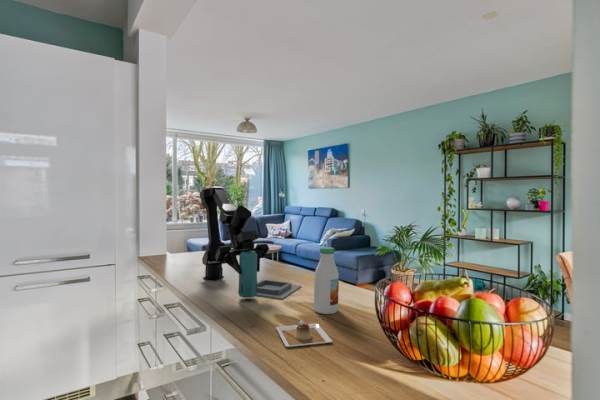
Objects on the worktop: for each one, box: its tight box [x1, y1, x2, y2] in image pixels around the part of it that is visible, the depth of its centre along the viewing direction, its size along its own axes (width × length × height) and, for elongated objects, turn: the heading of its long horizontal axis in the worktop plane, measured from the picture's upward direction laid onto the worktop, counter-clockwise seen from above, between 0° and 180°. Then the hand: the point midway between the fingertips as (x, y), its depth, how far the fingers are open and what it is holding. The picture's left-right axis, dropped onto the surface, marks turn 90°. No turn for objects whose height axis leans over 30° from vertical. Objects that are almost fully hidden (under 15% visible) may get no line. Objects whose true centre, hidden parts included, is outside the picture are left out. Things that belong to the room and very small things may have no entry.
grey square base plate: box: [237, 279, 302, 301], centre depth 127 cm, size 18×18×2 cm
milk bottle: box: [313, 246, 340, 315], centre depth 105 cm, size 8×8×20 cm
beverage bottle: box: [237, 241, 258, 299], centre depth 114 cm, size 6×7×20 cm
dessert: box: [275, 319, 334, 348], centre depth 85 cm, size 12×12×5 cm
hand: (249, 272), depth 113 cm, fingers closed on beverage bottle, 6 cm apart
